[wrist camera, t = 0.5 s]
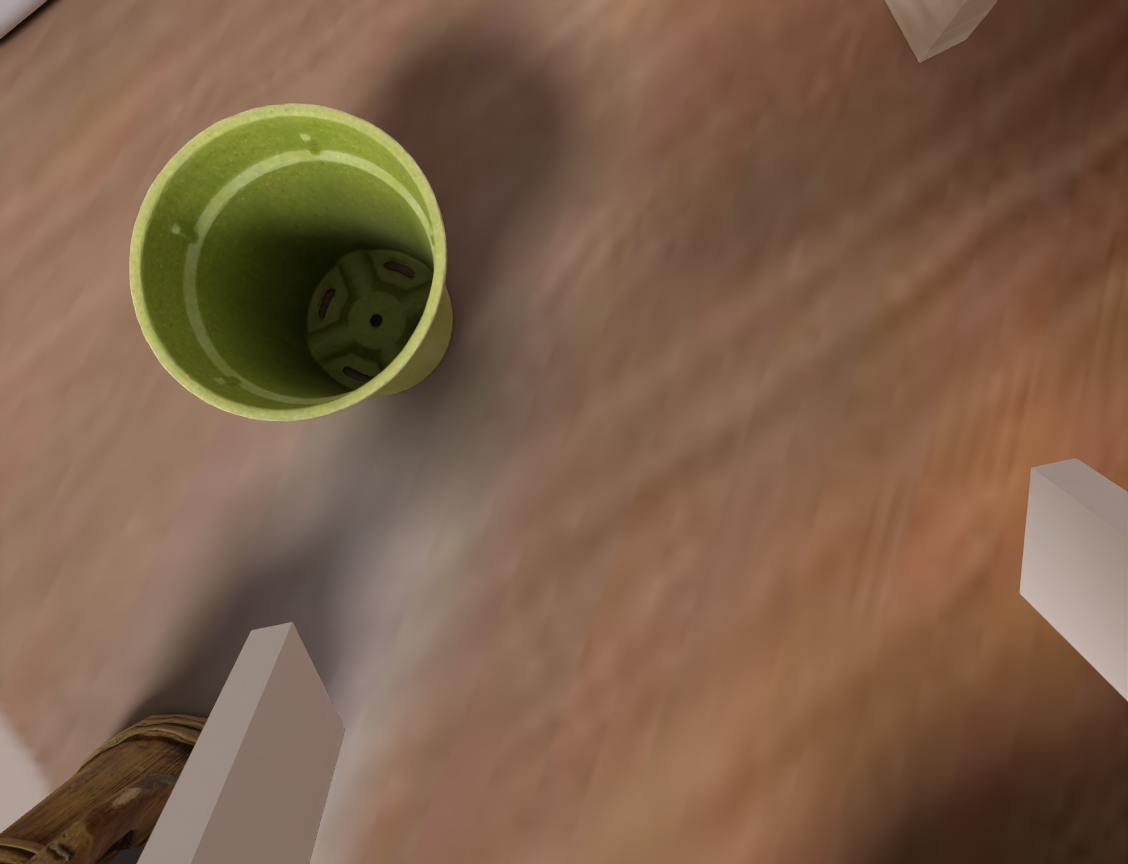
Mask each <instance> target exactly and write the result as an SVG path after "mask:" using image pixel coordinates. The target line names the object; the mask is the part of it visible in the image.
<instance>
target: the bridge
mask: <svg viewBox="0 0 1128 864" xmlns="http://www.w3.org/2000/svg"><path fill="white" fill-rule="evenodd" d="M997 1H998V0H885V2H886V4H887V6H888V8H889V9H890V11H891V13H892V15H893V17H894V18H895V20H896V22H897V24H898V26H899V27H900V29H901V31H902V33H903V35H904V37H905V38H906V40H907V42H908V44H909V46H910V47H911V49H912V51H913V53H914V55H915V56H916V58H917V60H918V62H919V63H921V62H923V61H925V60H927V59H929V58H931V57H933V56H935V55H937V54H939V53H941V52H943V51H945V50H947V49H949V48H951V47H953V46H955V45H957V44H958V43H960V42H962V41H964V40H966V39H967V38H968V37H969V35H970V34H971V33H972V32H973V31H974V29H975V28H976V27H977V26H978V24H979V23H980V22H981V21H982V20H983V18H984V17H985V16H986V15H987V14H988V12H989V11H990V10H991V9H992V7H993V6H994V5H995V4H996V3H997Z"/></svg>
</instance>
